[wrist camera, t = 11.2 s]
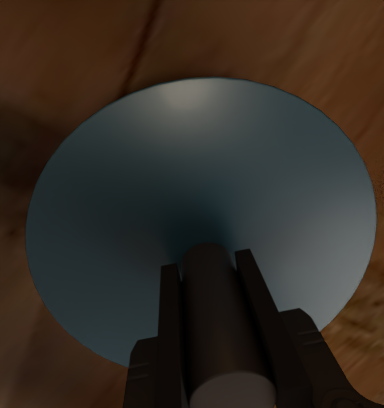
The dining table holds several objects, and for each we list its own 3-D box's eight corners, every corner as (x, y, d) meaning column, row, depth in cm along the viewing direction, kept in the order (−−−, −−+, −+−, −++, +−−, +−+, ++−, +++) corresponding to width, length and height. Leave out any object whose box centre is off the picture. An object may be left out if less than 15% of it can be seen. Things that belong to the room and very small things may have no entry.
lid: (24, 340, 18) (-77, 527, 11) (52, 14, 11) (-182, -102, 4) (284, 376, 21) (345, 537, 14) (430, 139, 14) (706, 210, 7)
